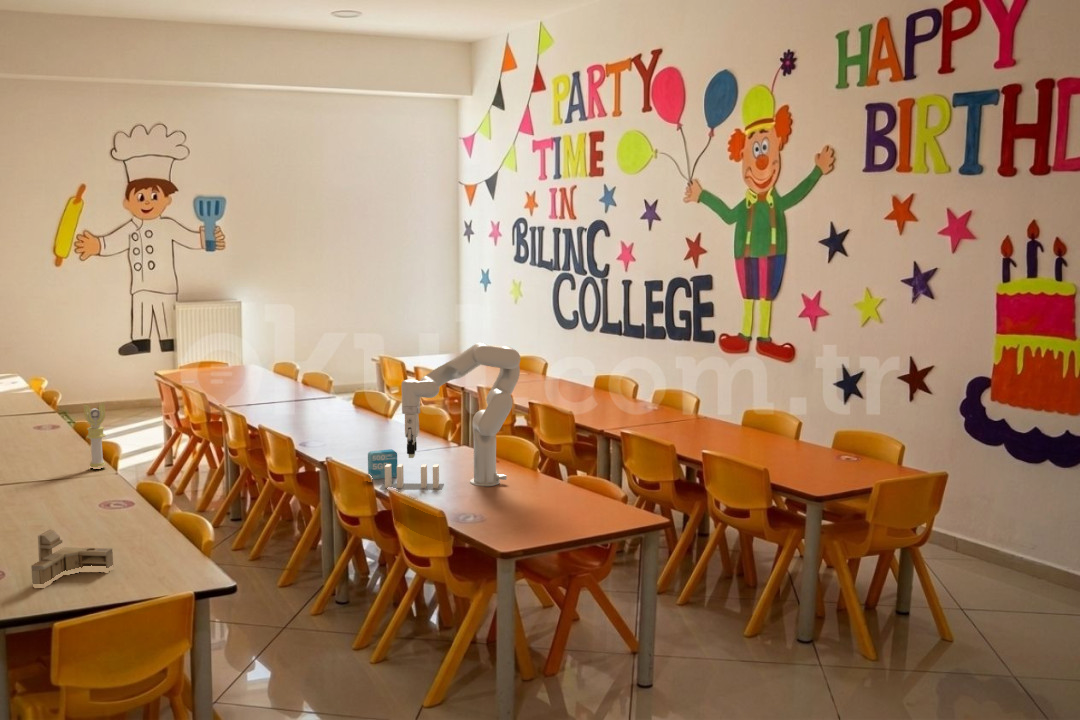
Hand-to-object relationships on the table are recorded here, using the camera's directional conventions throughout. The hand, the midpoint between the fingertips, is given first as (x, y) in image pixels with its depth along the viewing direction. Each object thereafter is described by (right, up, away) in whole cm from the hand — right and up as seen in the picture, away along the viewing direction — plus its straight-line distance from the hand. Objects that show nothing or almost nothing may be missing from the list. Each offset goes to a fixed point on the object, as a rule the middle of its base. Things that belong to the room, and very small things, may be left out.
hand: (411, 451), depth 422 cm
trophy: (-145, -11, +33) cm, 149 cm away
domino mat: (0, -15, +2) cm, 15 cm away
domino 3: (0, -2, 0) cm, 2 cm away
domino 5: (+10, -15, +2) cm, 18 cm away
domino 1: (-10, -15, +2) cm, 18 cm away
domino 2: (-5, -15, +2) cm, 16 cm away
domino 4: (+5, -15, +2) cm, 16 cm away
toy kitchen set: (-91, -30, -108) cm, 145 cm away
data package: (-15, -13, +18) cm, 27 cm away
